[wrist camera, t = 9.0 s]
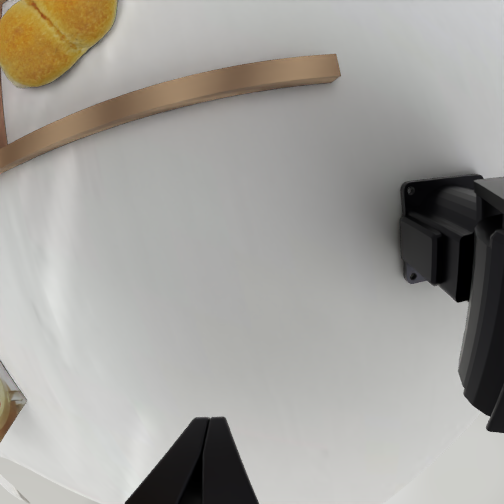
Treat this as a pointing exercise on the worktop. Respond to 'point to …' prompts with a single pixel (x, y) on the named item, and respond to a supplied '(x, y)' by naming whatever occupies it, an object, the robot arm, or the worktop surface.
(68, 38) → the bread roll
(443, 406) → the worktop surface
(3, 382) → the coffee box
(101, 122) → the guide channel
